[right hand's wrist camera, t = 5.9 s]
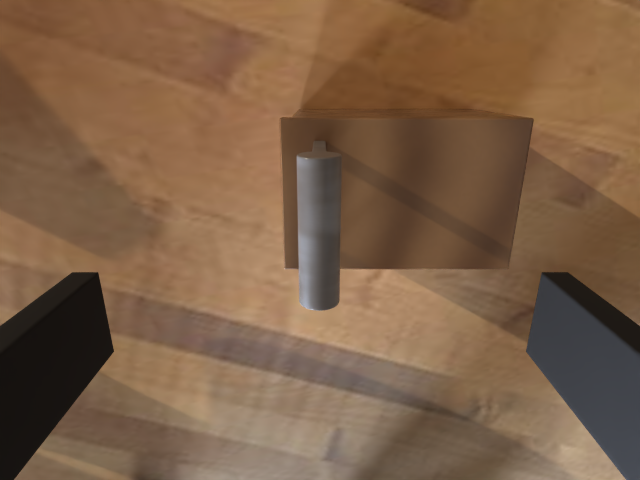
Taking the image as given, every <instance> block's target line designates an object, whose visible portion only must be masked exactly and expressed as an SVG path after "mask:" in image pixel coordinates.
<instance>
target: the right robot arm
mask: <svg viewBox="0 0 640 480" xmlns="http://www.w3.org/2000/svg"><path fill="white" fill-rule="evenodd" d="M113 352H114V349H113V344H112V339H111V334H110V329H109V324H108V319H107V314H106V309H105V304H104V299H103V294H102V289H101V284H100V279H99V274H98V272H72V273H71V274H70V275H68V276H67V277H65V278H64V279H63V280H61V281H60V282H59V283H57V284H56V285H55V286H53V287H52V288H51V289H49V290H48V291H47V292H45V293H44V294H43V295H41V296H40V297H39V298H37V299H36V300H35V301H33V302H32V303H31V304H29V305H28V306H27V307H25V308H24V309H23V310H21V311H20V312H19V313H17V314H16V315H15V316H13V317H12V318H11V319H9V320H8V321H7V322H5V323H4V324H2V325H1V326H0V480H14V479H15V477H16V476H17V475H18V474H19V472H20V471H21V470H22V469H23V467H24V466H25V465H26V463H27V462H28V461H29V460H30V458H31V457H32V456H33V454H34V453H35V452H36V451H37V449H38V448H39V447H40V445H41V444H42V443H43V442H44V440H45V439H46V438H47V437H48V435H49V434H50V433H51V431H52V430H53V429H54V428H55V426H56V425H57V424H58V422H59V421H60V420H61V419H62V417H63V416H64V415H65V413H66V412H67V411H68V410H69V408H70V407H71V406H72V405H73V403H74V402H75V401H76V399H77V398H78V397H79V396H80V394H81V393H82V392H83V390H84V389H85V388H86V387H87V385H88V384H89V383H90V381H91V380H92V379H93V378H94V376H95V375H96V374H97V372H98V371H99V370H100V369H101V367H102V366H103V365H104V364H105V362H106V361H107V360H108V358H109V357H110V356H111V355H112V353H113ZM526 352H527V353H528V355H529V356H530V357H531V358H532V360H533V361H534V362H535V364H536V365H537V366H538V367H539V369H540V370H541V371H542V372H543V374H544V375H545V376H546V378H547V379H548V380H549V381H550V383H551V384H552V385H553V387H554V388H555V389H556V390H557V392H558V393H559V394H560V396H561V397H562V398H563V399H564V401H565V402H566V403H567V405H568V406H569V407H570V408H571V410H572V411H573V412H574V413H575V415H576V416H577V417H578V419H579V420H580V421H581V422H582V424H583V425H584V426H585V428H586V429H587V430H588V431H589V433H590V434H591V435H592V437H593V438H594V439H595V440H596V442H597V443H598V444H599V445H600V447H601V448H602V449H603V451H604V452H605V453H606V454H607V456H608V457H609V458H610V460H611V461H612V462H613V463H614V465H615V466H616V467H617V469H618V470H619V471H620V472H621V474H622V475H623V476H624V477H625V479H626V480H640V326H639V325H638V324H636V323H635V322H633V321H632V320H631V319H629V318H628V317H627V316H625V315H624V314H623V313H621V312H620V311H619V310H617V309H616V308H615V307H613V306H612V305H611V304H609V303H608V302H607V301H605V300H604V299H603V298H601V297H600V296H599V295H597V294H596V293H595V292H593V291H592V290H591V289H589V288H588V287H587V286H585V285H584V284H583V283H581V282H580V281H579V280H577V279H576V278H575V277H573V276H572V275H570V274H569V273H568V272H542V274H541V279H540V284H539V289H538V294H537V299H536V304H535V309H534V314H533V319H532V324H531V329H530V334H529V339H528V344H527V349H526Z"/></svg>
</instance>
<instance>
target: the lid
mask: <svg viewBox="0 0 640 480" xmlns="http://www.w3.org/2000/svg"><path fill="white" fill-rule="evenodd" d="M532 126H533V118H527V117H282V118H280V150H281V181H282V213H283V244H284V268H285V269H299V301H300V304H301V305H302V306H303V307H305V308H307V309H311V310H319V311H320V310H328V309H331V308H334V307H335V306H337V305H338V303H339V293H340V269H508V268H509V262H510V257H511V251H512V245H513V239H514V233H515V227H516V221H517V215H518V209H519V203H520V197H521V191H522V185H523V179H524V174H525V168H526V162H527V156H528V150H529V144H530V138H531V132H532Z"/></svg>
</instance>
